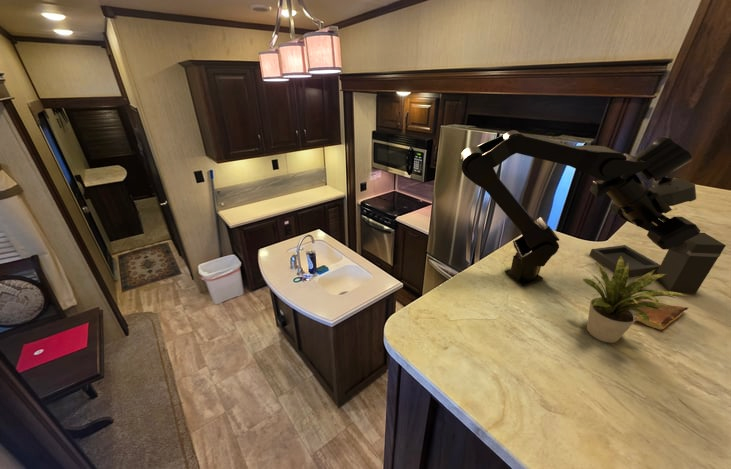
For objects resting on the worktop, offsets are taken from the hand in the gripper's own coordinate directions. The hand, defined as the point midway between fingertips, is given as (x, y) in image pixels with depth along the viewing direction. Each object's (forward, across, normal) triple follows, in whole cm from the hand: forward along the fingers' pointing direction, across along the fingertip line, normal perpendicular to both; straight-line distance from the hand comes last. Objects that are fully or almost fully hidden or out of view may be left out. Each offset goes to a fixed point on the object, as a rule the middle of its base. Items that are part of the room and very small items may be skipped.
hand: (669, 241), depth 64 cm
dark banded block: (+12, 0, +5) cm, 13 cm away
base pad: (+8, +8, +9) cm, 15 cm away
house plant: (-4, -19, +21) cm, 29 cm away
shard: (+5, -10, +12) cm, 17 cm away
